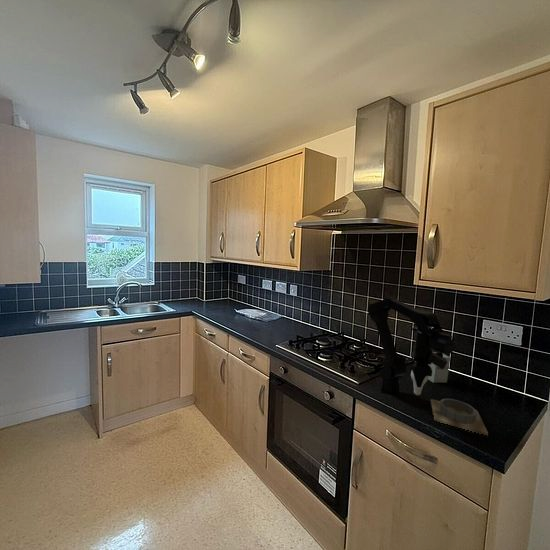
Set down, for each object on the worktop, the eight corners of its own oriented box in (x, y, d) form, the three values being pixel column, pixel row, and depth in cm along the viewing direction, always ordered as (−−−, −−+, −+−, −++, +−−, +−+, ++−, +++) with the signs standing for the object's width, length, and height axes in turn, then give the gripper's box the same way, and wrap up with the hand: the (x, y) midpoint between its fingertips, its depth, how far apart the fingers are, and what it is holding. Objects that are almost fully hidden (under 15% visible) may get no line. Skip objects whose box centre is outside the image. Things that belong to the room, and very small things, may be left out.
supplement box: (433, 383, 140) (436, 357, 139) (423, 376, 147) (426, 351, 146) (447, 383, 141) (450, 357, 140) (436, 376, 148) (439, 351, 147)
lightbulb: (426, 400, 112) (429, 372, 111) (408, 396, 115) (411, 368, 114) (425, 393, 118) (428, 367, 117) (408, 389, 120) (411, 363, 119)
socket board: (434, 422, 107) (436, 411, 107) (430, 401, 122) (431, 392, 121) (487, 436, 101) (489, 424, 101) (476, 412, 116) (478, 402, 115)
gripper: (451, 357, 102) (445, 400, 104) (444, 342, 120) (439, 379, 121) (415, 350, 107) (410, 392, 108) (413, 337, 124) (409, 373, 126)
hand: (418, 383), depth 116 cm, fingers closed on lightbulb, 6 cm apart
